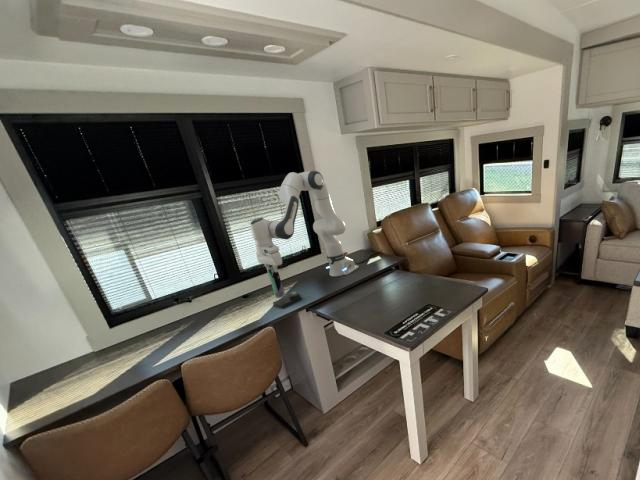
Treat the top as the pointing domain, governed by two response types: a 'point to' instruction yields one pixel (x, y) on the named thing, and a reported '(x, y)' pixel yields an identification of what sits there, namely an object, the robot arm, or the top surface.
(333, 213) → the robot arm
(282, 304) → the scale
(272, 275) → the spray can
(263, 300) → the top surface
